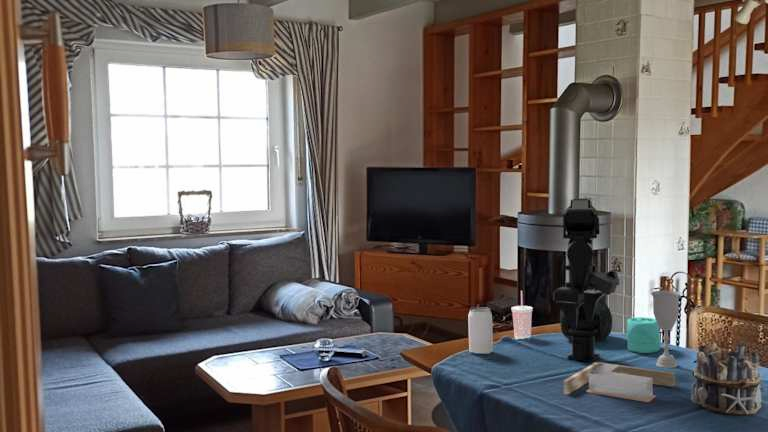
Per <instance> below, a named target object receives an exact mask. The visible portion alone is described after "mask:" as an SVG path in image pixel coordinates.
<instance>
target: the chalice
mask: <svg viewBox="0 0 768 432" xmlns="http://www.w3.org/2000/svg"><path fill="white" fill-rule="evenodd" d="M650 294H651V295H652V302H653V303H652V307H653V308H652V309H653V311H652V312H653V315H654V319H656V321H657V323H658V325H659V328H660V329H661V330H662V331H663V333H664V335H663V337H662V339H663V341H664V343H663V345H662V347H663V348H664V349H663V350H664V351H663V353H662V354H660V355H659V357H658V359H657V362H656V363H655V365H656V366H657V367H660V368H663V369H666V368H667V369H672V368H673V369H674V368H676V367H678V364H677V361H676V360H675V357H674V356H673V355H671V354H670V352H669V348H670V347H671V345H670V344H669V340H670V336H669V331H671V330H673V327H674V326H675V324H676V322H677V319H678V316H679V311H680V310H679V309H680V308H679V303H680V302H679V299H680V296H681V294H682V293H681V292H679V291H674V290H654V291H651V292H650Z"/></svg>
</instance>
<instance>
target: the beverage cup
mask: <svg viewBox="0 0 768 432" xmlns="http://www.w3.org/2000/svg"><path fill="white" fill-rule="evenodd" d="M523 299H524V298H523V290H520V305H515V306H511V308H510V309H511V313H512V323H513V334H514V335H513V336H514V339H516V340H518V339H524V338H530V337H531V336H532V315H533V314H532V313H533V309H534V307H532V306H528V305H523V304H524V303H523V302H524V301H523ZM531 338H532V337H531ZM531 338H530V339H531Z"/></svg>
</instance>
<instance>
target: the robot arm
mask: <svg viewBox="0 0 768 432" xmlns="http://www.w3.org/2000/svg"><path fill="white" fill-rule="evenodd" d="M562 217H563V218H562V219H563V220H562V225H563V227H562V228H563V229H562V237H563V239H568V241H567V251H566V256H567V261H568V264H566V265H565V266H564V268H565V271H568V281H567V282H565V286H562V287H558V288H555V290H554V291H553V292H552V300H553V301H554V302H555V303H556V304H557V305H558V306H559V308H560V311H561V310H562V311H563V313H564V315H565V317H566V336H572V340H571V354H570V355H567V357H566V359H568V360H573V361H581V362H589V363H590V362H593V361H595V360H597V359H598V358H599V357H601V356H600V353H599V354H597V353H596V351H595V349H596V348H595V339H594V336H598V337H600V336H601V335H602V318H601V317H600V316H599V313H596V306H597V303H598V300H599V299H600V298H602V297H603V296H605V295H608V296H610V295H611V294H614V293H615V292H616V289H617V286H618V285H620V278H619V275H618V271H615V270H608V272H607V273H606V272H602V271H599V270H598V269H599V267H598V265H597V264H596V263H594V239H597V238H598V235H600V217H599V216H598V210H597V209H596V208H595V207H594V206H593V205H592V204H591V199H590V198H587V197H586V198H585V197H584V198H573V199H570V204H569V206H567V208H566V209H565V210H564V212H563V214H562ZM569 329H571V330H569ZM595 329H597V330H595Z"/></svg>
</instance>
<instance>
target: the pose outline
mask: <svg viewBox="0 0 768 432" xmlns="http://www.w3.org/2000/svg"><path fill="white" fill-rule="evenodd" d="M585 393H590V394H596V395H601V396H608V397H614V398H620V399H626V400H633V401H639V402H644V403H649V402H651V401H652V400H654V399H655V398H656V396H657V395H654V394H653V396H652V397H651V398H650V399H648V400H641V399H635V398H629V397H623V396H617V395H611V394H605V393H599V392H593V391H589V388H588V389H587V390H586V391H585Z"/></svg>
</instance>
